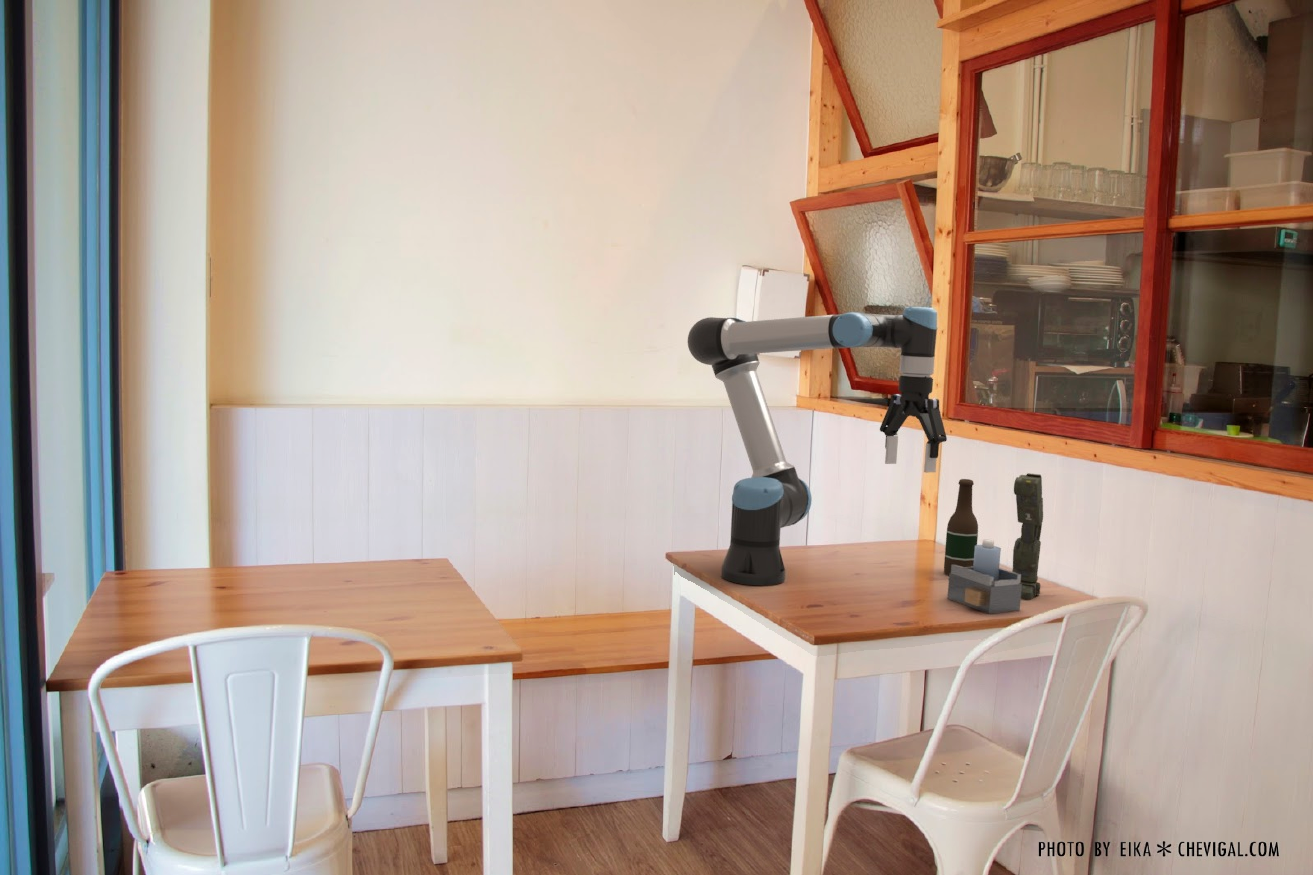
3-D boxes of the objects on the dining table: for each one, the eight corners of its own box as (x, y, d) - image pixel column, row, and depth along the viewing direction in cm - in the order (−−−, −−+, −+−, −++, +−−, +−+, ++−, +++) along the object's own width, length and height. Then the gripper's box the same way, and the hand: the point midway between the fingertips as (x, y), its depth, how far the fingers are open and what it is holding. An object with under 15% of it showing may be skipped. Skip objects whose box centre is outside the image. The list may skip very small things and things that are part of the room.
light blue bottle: (967, 576, 236) (970, 538, 235) (985, 574, 239) (988, 537, 238) (984, 582, 231) (987, 543, 231) (1003, 580, 234) (1006, 542, 233)
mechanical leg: (1015, 580, 257) (1019, 464, 247) (1046, 585, 253) (1051, 467, 244) (1002, 604, 246) (1005, 484, 236) (1034, 610, 242) (1038, 488, 233)
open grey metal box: (934, 597, 240) (937, 562, 240) (971, 593, 245) (973, 559, 244) (981, 614, 227) (984, 578, 226) (1019, 610, 232) (1022, 574, 231)
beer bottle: (953, 569, 269) (960, 476, 267) (981, 575, 264) (988, 480, 261) (937, 573, 264) (944, 478, 261) (965, 580, 258) (972, 483, 256)
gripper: (967, 379, 231) (960, 475, 233) (893, 372, 253) (887, 459, 255) (941, 379, 227) (933, 476, 230) (868, 371, 249) (862, 460, 252)
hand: (909, 468), depth 242 cm, fingers open, 13 cm apart
